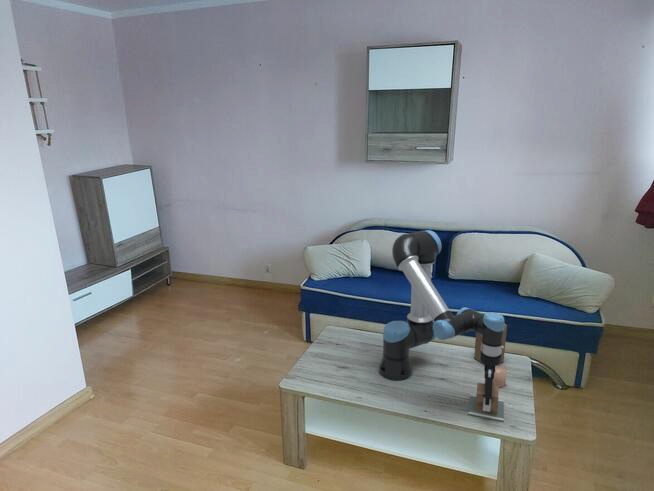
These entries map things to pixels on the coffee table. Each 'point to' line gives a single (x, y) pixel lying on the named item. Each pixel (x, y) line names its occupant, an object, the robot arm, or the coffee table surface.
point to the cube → (480, 399)
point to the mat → (484, 415)
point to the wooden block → (478, 345)
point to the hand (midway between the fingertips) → (486, 400)
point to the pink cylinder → (499, 376)
